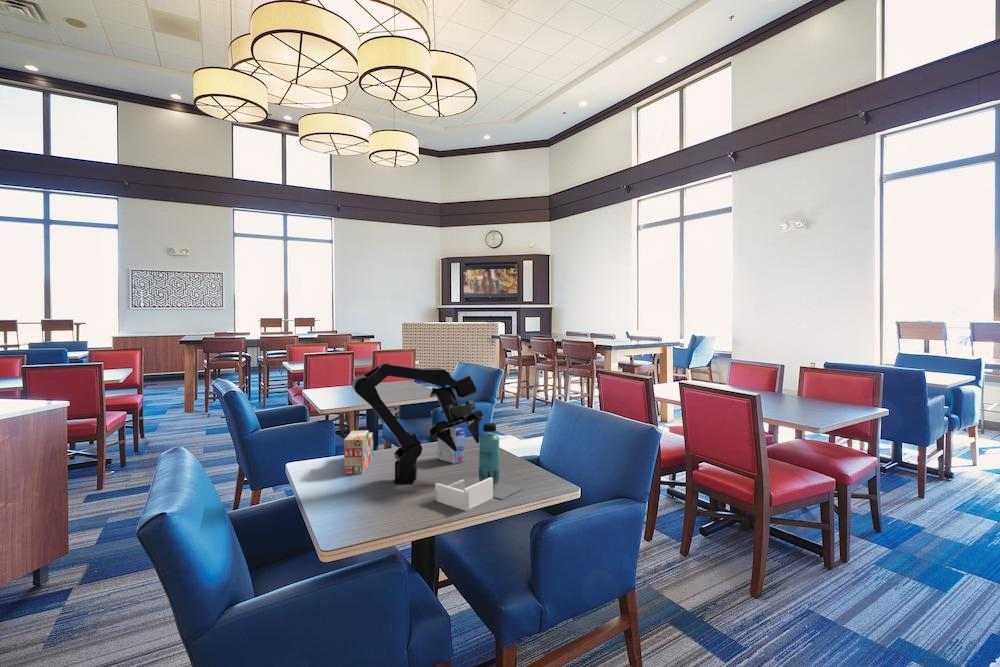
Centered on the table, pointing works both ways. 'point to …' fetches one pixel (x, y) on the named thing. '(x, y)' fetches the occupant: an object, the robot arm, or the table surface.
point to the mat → (497, 488)
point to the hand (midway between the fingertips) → (467, 446)
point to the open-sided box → (464, 494)
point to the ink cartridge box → (447, 452)
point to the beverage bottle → (489, 454)
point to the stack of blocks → (357, 452)
